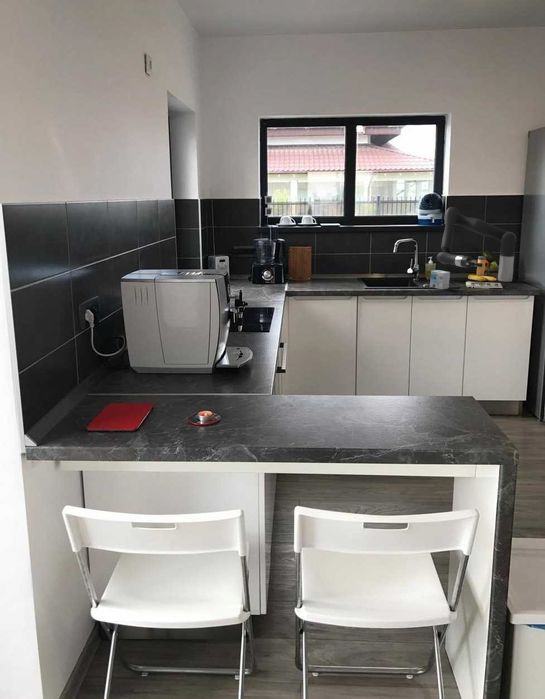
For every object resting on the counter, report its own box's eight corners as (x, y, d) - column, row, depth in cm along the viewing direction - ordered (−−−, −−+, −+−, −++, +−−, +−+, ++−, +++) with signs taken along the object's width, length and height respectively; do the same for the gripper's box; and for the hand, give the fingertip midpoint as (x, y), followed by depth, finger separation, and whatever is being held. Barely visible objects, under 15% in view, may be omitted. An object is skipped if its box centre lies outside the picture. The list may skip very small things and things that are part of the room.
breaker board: (499, 285, 455) (500, 281, 455) (502, 289, 442) (502, 285, 442) (466, 283, 460) (466, 279, 459) (467, 287, 447) (467, 283, 446)
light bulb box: (429, 287, 447) (430, 270, 444) (436, 285, 451) (437, 269, 448) (442, 289, 439) (443, 272, 436) (449, 288, 443) (450, 272, 440)
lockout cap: (483, 274, 453) (485, 256, 450) (484, 275, 449) (486, 257, 446) (476, 274, 454) (478, 256, 451) (476, 275, 450) (478, 257, 446)
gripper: (457, 256, 455) (478, 260, 442) (470, 255, 464) (492, 258, 451) (456, 267, 457) (477, 271, 444) (469, 266, 466) (490, 269, 453)
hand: (484, 265), depth 448 cm, fingers closed on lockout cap, 4 cm apart
